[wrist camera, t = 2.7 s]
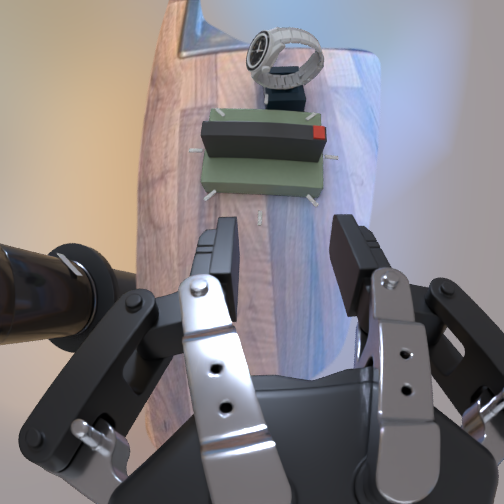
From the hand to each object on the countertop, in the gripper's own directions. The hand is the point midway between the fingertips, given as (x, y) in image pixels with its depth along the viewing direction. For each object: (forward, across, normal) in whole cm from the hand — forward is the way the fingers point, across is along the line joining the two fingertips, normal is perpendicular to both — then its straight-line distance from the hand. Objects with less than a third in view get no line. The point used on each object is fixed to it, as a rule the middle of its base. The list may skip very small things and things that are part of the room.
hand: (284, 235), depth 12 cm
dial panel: (+22, 0, +4) cm, 22 cm away
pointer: (+19, 0, +2) cm, 19 cm away
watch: (+28, -2, -2) cm, 28 cm away
